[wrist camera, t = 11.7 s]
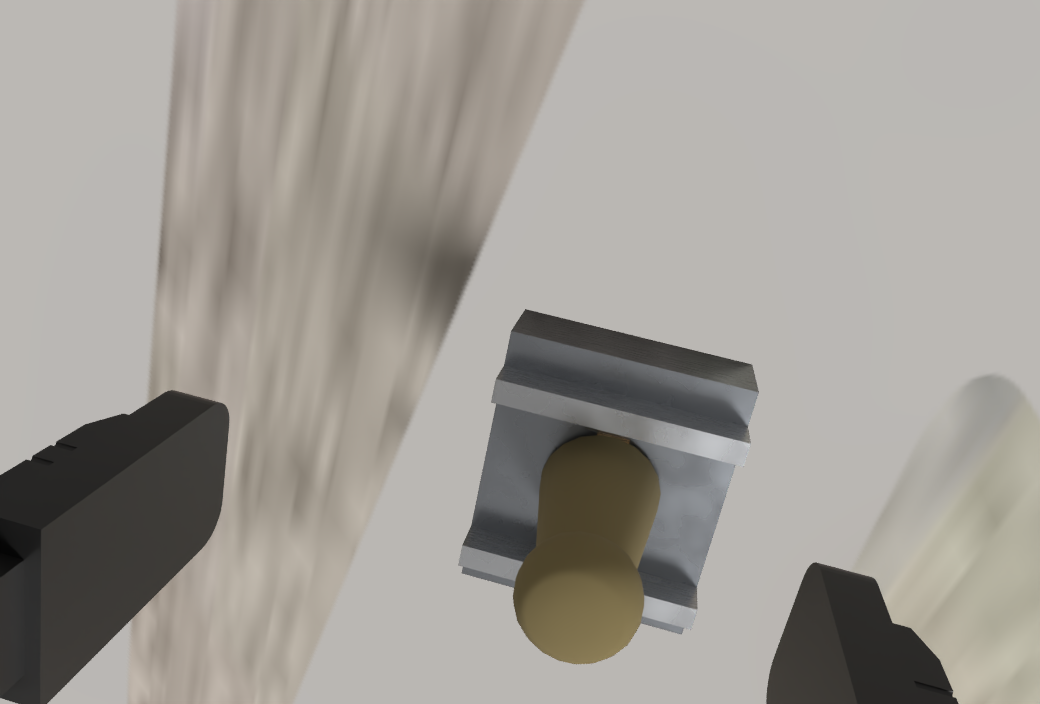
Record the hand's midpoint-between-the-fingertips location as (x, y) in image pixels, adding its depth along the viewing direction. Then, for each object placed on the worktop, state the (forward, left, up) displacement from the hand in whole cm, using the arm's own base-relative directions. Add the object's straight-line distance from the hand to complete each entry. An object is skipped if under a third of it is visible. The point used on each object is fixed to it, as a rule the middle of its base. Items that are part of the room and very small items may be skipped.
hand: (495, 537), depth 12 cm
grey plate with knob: (+14, +2, -33) cm, 36 cm away
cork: (+14, +2, -29) cm, 32 cm away
